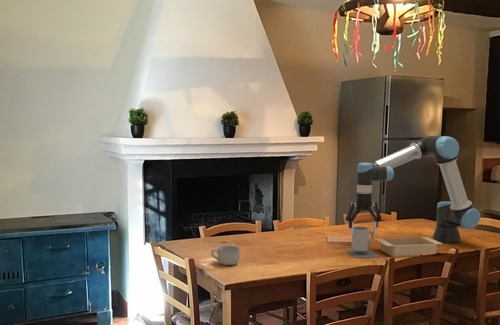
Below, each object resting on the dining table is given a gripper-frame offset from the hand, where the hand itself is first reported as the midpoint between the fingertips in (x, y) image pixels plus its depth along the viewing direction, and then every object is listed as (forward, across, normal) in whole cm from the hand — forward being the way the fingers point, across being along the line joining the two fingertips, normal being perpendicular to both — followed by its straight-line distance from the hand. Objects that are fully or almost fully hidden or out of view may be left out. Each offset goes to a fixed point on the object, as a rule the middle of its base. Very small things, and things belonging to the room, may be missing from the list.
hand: (363, 234), depth 247 cm
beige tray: (+10, -25, 0) cm, 27 cm away
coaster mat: (+10, 0, 0) cm, 10 cm away
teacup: (+11, +73, +8) cm, 74 cm away
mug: (+8, 0, 0) cm, 8 cm away
